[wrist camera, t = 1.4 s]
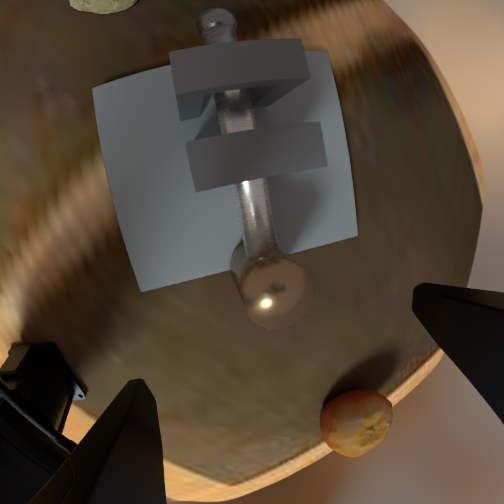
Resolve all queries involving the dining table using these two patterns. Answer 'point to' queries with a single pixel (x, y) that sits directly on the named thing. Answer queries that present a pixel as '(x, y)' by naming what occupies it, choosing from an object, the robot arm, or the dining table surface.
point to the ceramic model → (102, 5)
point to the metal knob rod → (256, 212)
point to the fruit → (356, 421)
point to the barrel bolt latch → (223, 156)
